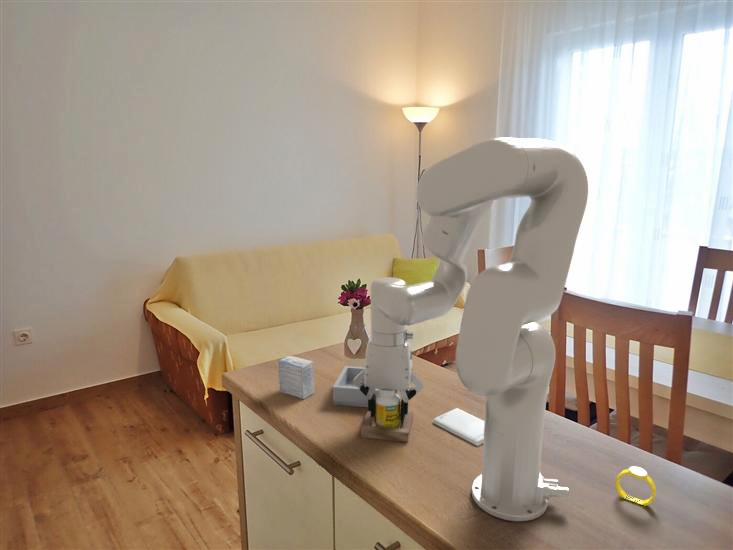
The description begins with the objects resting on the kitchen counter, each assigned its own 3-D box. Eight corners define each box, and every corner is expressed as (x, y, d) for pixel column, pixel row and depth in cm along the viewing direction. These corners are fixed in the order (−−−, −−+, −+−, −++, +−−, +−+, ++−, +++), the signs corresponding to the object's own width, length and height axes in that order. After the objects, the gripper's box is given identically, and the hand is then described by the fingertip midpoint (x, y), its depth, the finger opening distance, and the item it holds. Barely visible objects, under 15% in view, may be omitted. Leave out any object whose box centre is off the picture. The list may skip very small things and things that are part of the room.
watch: (653, 505, 87) (660, 475, 86) (650, 513, 85) (657, 483, 84) (616, 489, 91) (622, 460, 89) (612, 497, 89) (618, 467, 87)
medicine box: (314, 393, 129) (314, 361, 127) (303, 400, 125) (302, 367, 123) (290, 386, 133) (289, 354, 131) (279, 392, 129) (277, 360, 127)
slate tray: (394, 385, 133) (394, 369, 132) (386, 408, 121) (386, 391, 120) (345, 381, 135) (345, 365, 134) (333, 404, 123) (332, 386, 122)
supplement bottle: (390, 419, 116) (391, 379, 114) (405, 429, 111) (405, 388, 109) (370, 425, 113) (370, 385, 111) (385, 436, 109) (385, 394, 106)
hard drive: (433, 418, 114) (477, 441, 105) (457, 407, 119) (502, 428, 110) (432, 425, 114) (477, 448, 105) (457, 413, 119) (501, 435, 110)
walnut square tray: (412, 418, 116) (413, 410, 116) (408, 441, 106) (408, 432, 106) (369, 414, 118) (369, 406, 117) (361, 437, 108) (361, 428, 108)
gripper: (430, 333, 110) (428, 410, 114) (352, 328, 113) (352, 404, 117) (428, 345, 102) (426, 427, 106) (344, 340, 106) (345, 420, 109)
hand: (388, 414), depth 111 cm, fingers open, 5 cm apart
